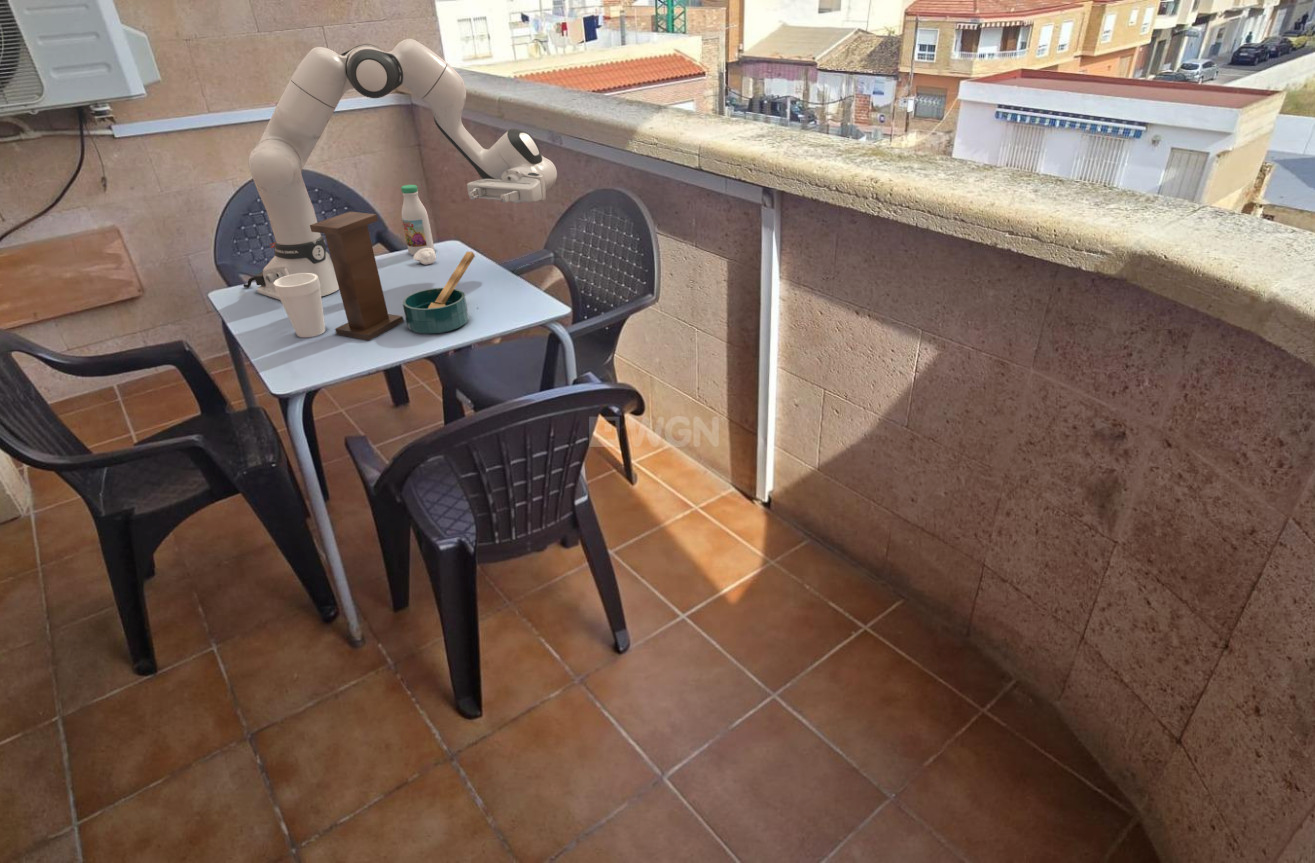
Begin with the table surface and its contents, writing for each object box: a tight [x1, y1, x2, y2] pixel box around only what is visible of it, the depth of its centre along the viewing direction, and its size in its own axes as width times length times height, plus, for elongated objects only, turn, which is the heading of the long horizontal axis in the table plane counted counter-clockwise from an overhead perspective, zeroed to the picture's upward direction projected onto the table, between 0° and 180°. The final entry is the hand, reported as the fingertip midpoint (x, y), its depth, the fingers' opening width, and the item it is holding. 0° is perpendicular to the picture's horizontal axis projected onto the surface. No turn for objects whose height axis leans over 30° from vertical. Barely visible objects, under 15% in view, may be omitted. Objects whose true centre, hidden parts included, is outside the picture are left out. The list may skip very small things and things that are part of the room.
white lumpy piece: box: [412, 248, 437, 266], centre depth 217 cm, size 7×5×4 cm
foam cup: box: [273, 273, 326, 338], centre depth 171 cm, size 10×9×13 cm
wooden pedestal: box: [310, 211, 405, 341], centre depth 169 cm, size 10×12×26 cm
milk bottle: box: [400, 184, 435, 256], centre depth 221 cm, size 8×8×20 cm
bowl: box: [401, 287, 470, 335], centre depth 175 cm, size 14×14×6 cm
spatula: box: [428, 250, 476, 308], centre depth 177 cm, size 24×4×1 cm, turn 156°
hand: (487, 197), depth 184 cm, fingers open, 8 cm apart
